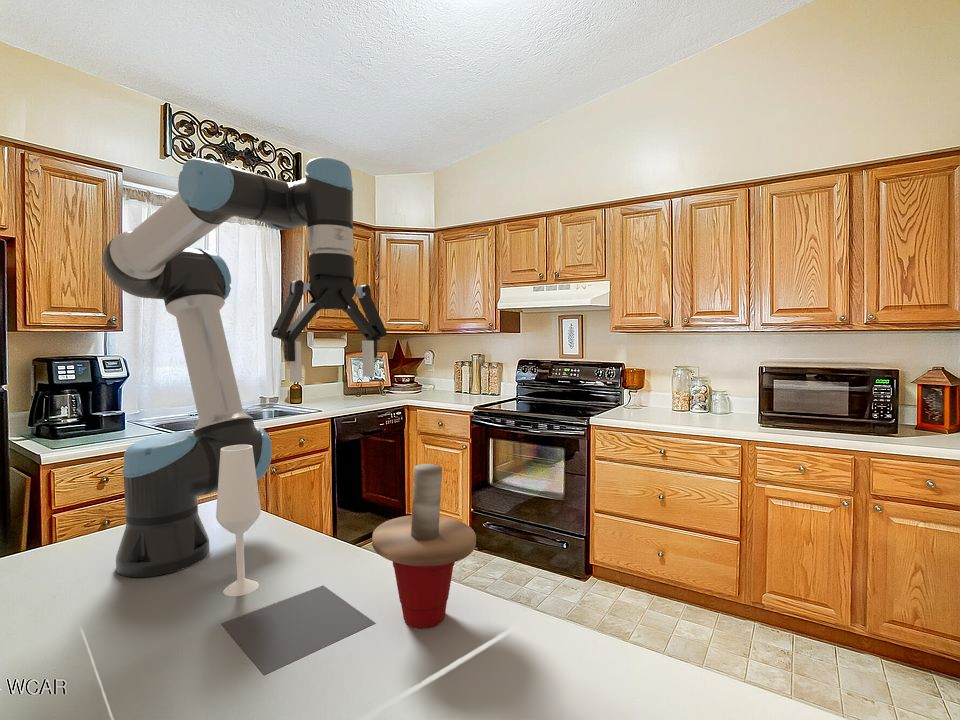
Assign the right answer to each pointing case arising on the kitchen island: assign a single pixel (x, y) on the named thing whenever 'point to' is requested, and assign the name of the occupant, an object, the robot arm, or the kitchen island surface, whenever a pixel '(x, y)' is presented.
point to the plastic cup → (423, 593)
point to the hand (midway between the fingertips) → (334, 379)
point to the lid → (424, 528)
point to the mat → (295, 628)
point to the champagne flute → (238, 505)
